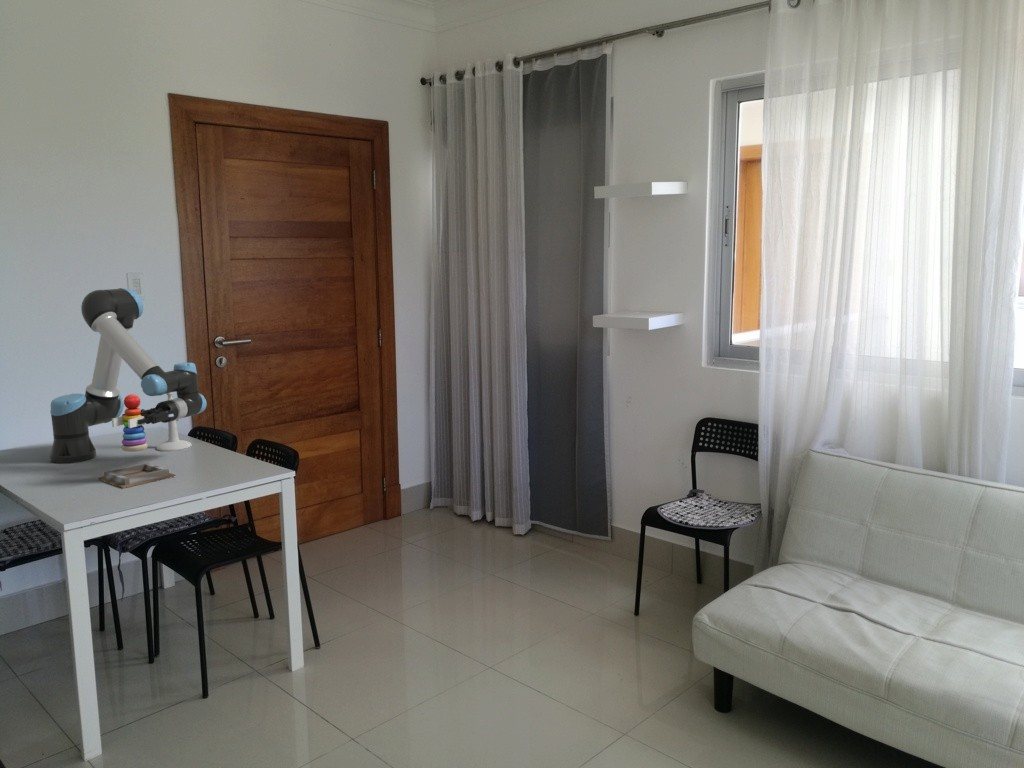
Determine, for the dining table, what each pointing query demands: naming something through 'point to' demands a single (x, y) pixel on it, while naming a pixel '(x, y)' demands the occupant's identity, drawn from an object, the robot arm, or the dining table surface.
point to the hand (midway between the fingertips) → (121, 423)
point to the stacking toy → (135, 435)
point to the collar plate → (135, 475)
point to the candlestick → (173, 436)
